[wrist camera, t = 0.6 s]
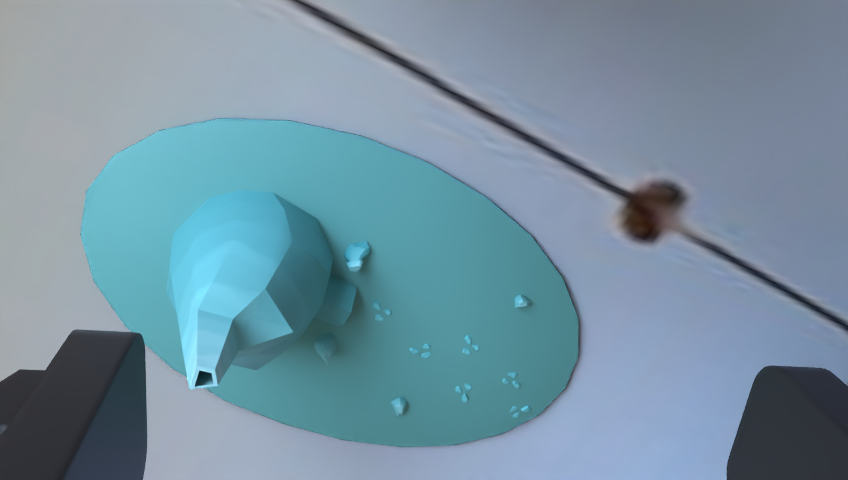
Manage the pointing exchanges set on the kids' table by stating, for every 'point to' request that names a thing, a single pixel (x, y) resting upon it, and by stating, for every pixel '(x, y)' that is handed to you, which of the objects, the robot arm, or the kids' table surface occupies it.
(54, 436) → the robot arm
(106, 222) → the diorama
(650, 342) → the kids' table surface
